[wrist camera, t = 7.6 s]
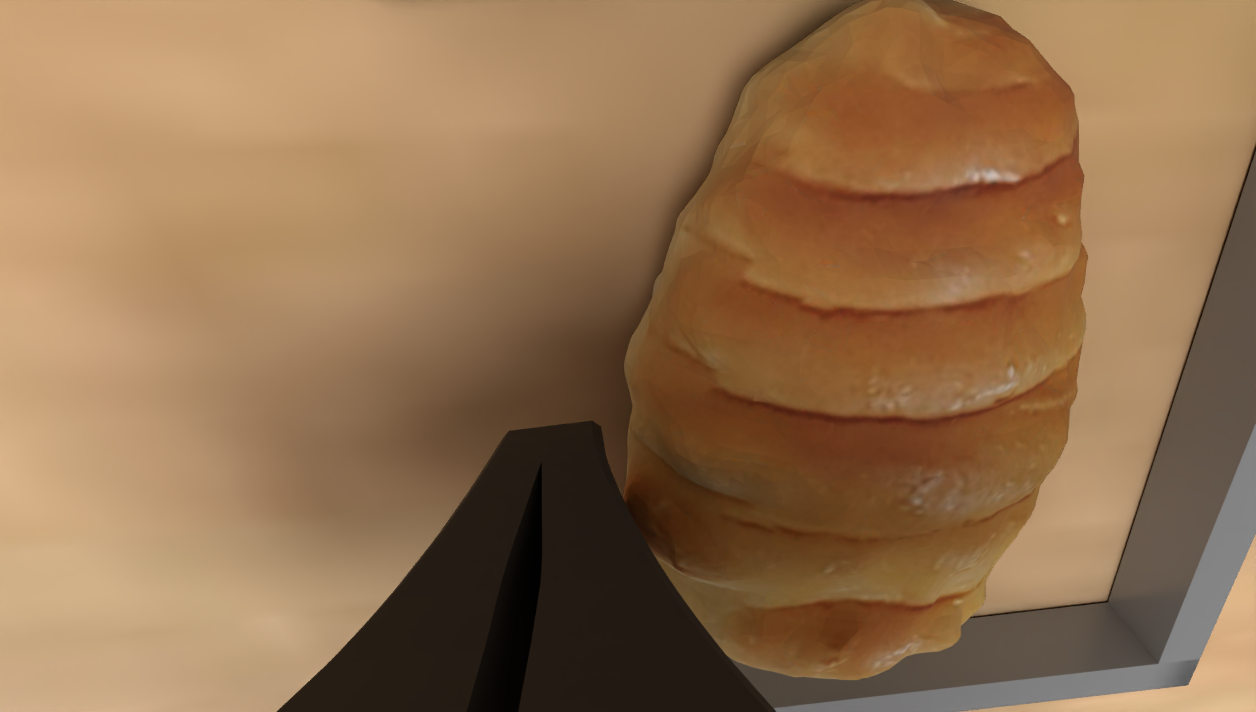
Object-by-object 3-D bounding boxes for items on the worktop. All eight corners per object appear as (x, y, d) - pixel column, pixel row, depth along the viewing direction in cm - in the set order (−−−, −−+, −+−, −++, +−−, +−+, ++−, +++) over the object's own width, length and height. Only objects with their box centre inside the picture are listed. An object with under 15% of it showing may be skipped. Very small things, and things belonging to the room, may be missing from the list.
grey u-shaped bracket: (1136, 623, 15) (1188, 685, 14) (555, 690, 15) (552, 758, 14) (1448, -233, 8) (1615, -272, 7) (354, -91, 8) (309, -102, 7)
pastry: (634, -19, 9) (664, -13, 6) (1130, 5, 9) (1432, 24, 6) (610, 530, 13) (619, 715, 10) (946, 528, 14) (1060, 703, 11)
